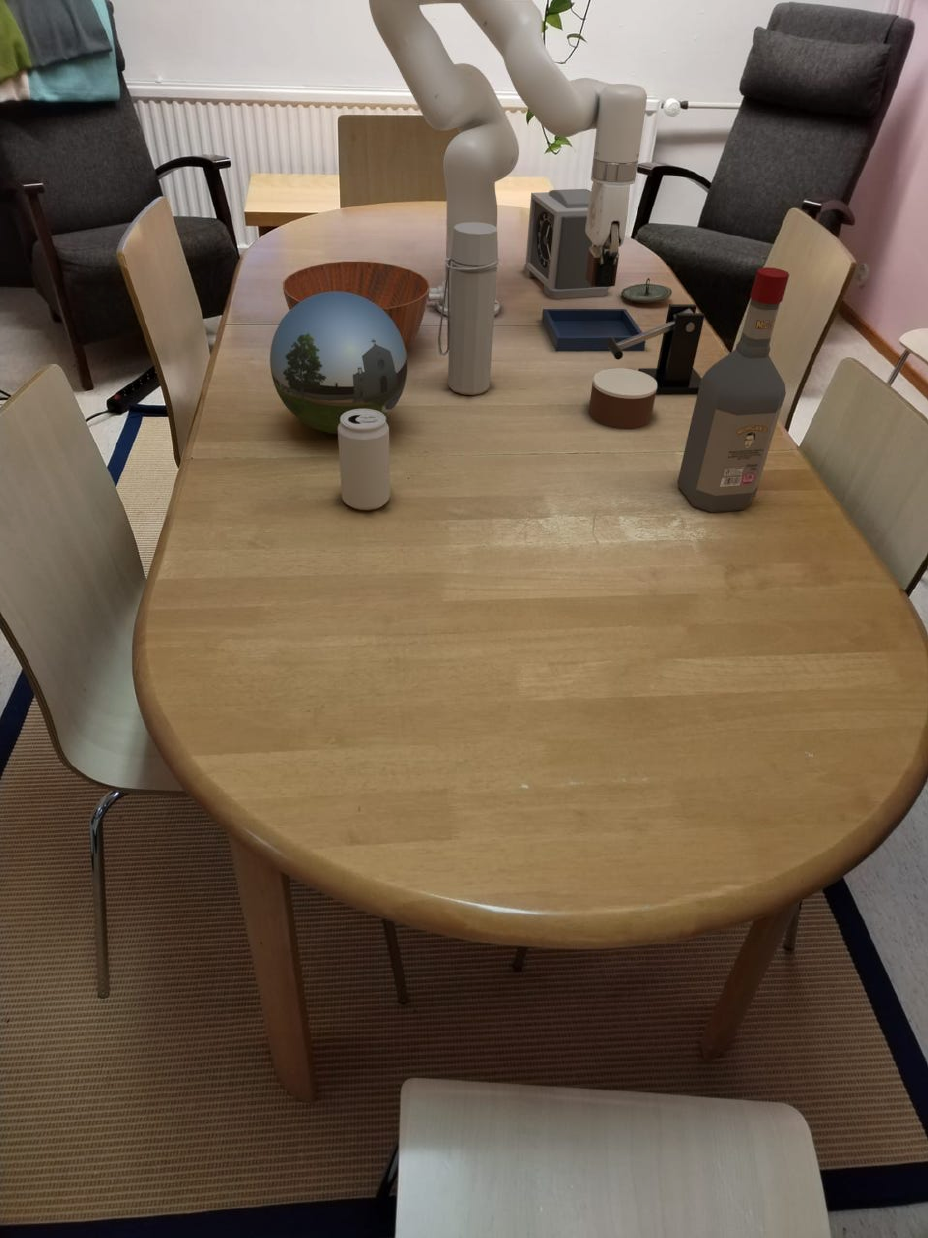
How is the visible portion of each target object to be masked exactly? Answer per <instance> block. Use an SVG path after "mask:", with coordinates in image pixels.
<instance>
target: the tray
mask: <svg viewBox="0 0 928 1238" xmlns="http://www.w3.org/2000/svg"><path fill="white" fill-rule="evenodd" d="M541 313H542V314H541V323H542V325H543V327H544V329H545V332H546V334H547V336H548V337H549V340H550V342H551V343H552V346H553V348H554V350H555V351H556V352H600V351H601V352H604V351H605V352H606V351H607V352H608V351H609V352H611V351H610V349H609V348H608V346H607V344H606V340H607V338H609V337H612V338H613V339H614V340H615V342H616V343H618V342H620V341H623V340H625V339H628V338H630V337H633V336H635V335H638V334H641V333H643V331H642V329H641V328H640V327H639V325H638V324H637V323H636V321H635V319H634V318H633V317H632V316H631V314H630V313H629V311H628V310H627V308H543V309H542V312H541ZM646 341H647V340H645V341H643V342H640V343H638V344H635V345H632V346H630V347H627V348H625V349H622V350H621V351H622V352H623V351H628V352H629V351H630V352H631V351H645V346H646Z"/></svg>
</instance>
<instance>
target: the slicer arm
mask: <svg viewBox="0 0 928 1238" xmlns="http://www.w3.org/2000/svg"><path fill="white" fill-rule="evenodd" d="M679 313H693V312H692V311H691V310H690V309H687V310H684V311H682V312H679ZM676 314H677V313H676ZM676 314H674V315H673V318H674V321H671V322H669V323H666V322H665V323H663V324H661V325H658V326H656V327H654V328H651V329H649V330H645V331H644V332H643V331H642V332H643V333H641V334H638V335H635V336H633V337H630V338H628V339H625V340H623V341H620V342H618V343H616V342H615V340H614V339H613V338H612V337H609V338H607V340H606V344H607V346H608V348H609V349H610V351H609V352H611V355H612V356H613V357H614V359H615V360H622V358H623V357H624V353H623V351H621V350H622V349H625V348H627V347H630V346H632V345H635V344H638V343H640V342H643V341H645V340H646V341H648V340H650V339H652V338H656V337H658V336H661V335H663V334H664V333H666V332H668V331H671V330H673V329H674V324H675V319H676ZM646 341H645V342H646Z"/></svg>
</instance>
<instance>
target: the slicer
mask: <svg viewBox="0 0 928 1238" xmlns="http://www.w3.org/2000/svg"><path fill="white" fill-rule="evenodd" d="M697 307H698V306H697V305H696V304H695V303H694V304H693V303H691V304H690V303H689V304H688V303H687V304H682V303H681V304H675V303H674V304H673V303H672V304H669V305H668V309H667V313H666V318H665V324H666V323H669V322H671V321H674V318H673V315H674V314H676V313H677V314H676V319H675V324H674V329H673V330H671V331H668V332H666V333H663V334H662V340H661V345H660V350H659V356H658V360H657V366H656V368H655V367H654V368H651V367H650V368H647V367H646V368H638V369H637V371H640V372H643V373H645V374H648V375H649V376H651V377H652V378H654V379H655V380H656V382H657V391H656V396H657V395H659V396H660V395H697V394H698V390H699V386H700V381H701V379H702V377H701V376H700V374H699V373H698V372H697V370H696V369H695V368H694V366H695V361H696V356H697V352H698V347H699V343H700V340H701V339H700V338H701V334H702V330H703V325H704V320H705V317H706V316H705V314H704V313H703V312H696V311H697ZM687 309H690V310H691V311H692V312H693V313H679V312H682V311H684V310H687Z"/></svg>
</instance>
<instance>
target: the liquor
mask: <svg viewBox="0 0 928 1238" xmlns="http://www.w3.org/2000/svg"><path fill="white" fill-rule="evenodd" d="M789 276H790V273H789V272H788V271H787V270H784V269H781V268H777V267H770V266H769V267H767V266H763V267H759V268H758V269H757V270H756V272H755V277H754V280H753V284H752V288H751V292H750V294H749V297H750V302H749V305H748V309H747V311H746V312H747V314H746V317H745V319H744V324H743V328H742V330H741V331H742V332H741V335H740V338H739V341H738V342H737V343H736V345H735V349H734V350H732V351H730V352H729V353H728V354H727V355H725V356H724V357H722V358H721V359H720V360H718V361H717V362H716V363H714V364H713V365H712V366H711V367H710V368H708V369H707V370H706V371H705V372H704V374H703V375H702V377H701V381H700V386H699V390H698V394H696V400H695V403H694V408H693V412H692V417H691V421H690V425H689V430H688V434H687V438H686V443H685V448H684V451H683V456H682V460H681V465H680V469H679V473H678V477H677V485H678V488H679V490H680V491H681V493H682V494H683V495H684V496H685V497H686V499H687V500H688V501H689V503H690V504H691V505H692V506H693V507H694V508H696V509H699V510H702V511H706V512H709V513H719V512H721V513H723V512H731V511H732V512H733V511H744V510H745V509H746V508H747V507H748V506H749V505H750V504H751V502H752V501H753V500H754V499H755V497H756V494H757V491H758V489H759V488H758V487H759V484H760V481H761V477H762V474H763V472H764V467H765V465H766V461H767V458H768V454H769V451H770V448H771V444H772V440H773V438H774V435H775V431H776V428H777V425H778V422H779V421H778V420H779V417H780V415H781V411H782V407H783V404H784V401H785V398H786V394H787V392H786V384H785V382H784V380H783V378H782V376H781V375H780V373H779V371H778V369H777V367H776V365H775V364H774V362H773V360H772V358H771V357H770V352H771V346H770V344H771V339H772V335H773V333H774V328H775V324H776V320H777V317H778V312H779V309H780V305H781V302H783V301H784V297H785V296H784V295H785V293H786V290H787V289H786V288H787V285H788V281H789Z"/></svg>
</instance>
